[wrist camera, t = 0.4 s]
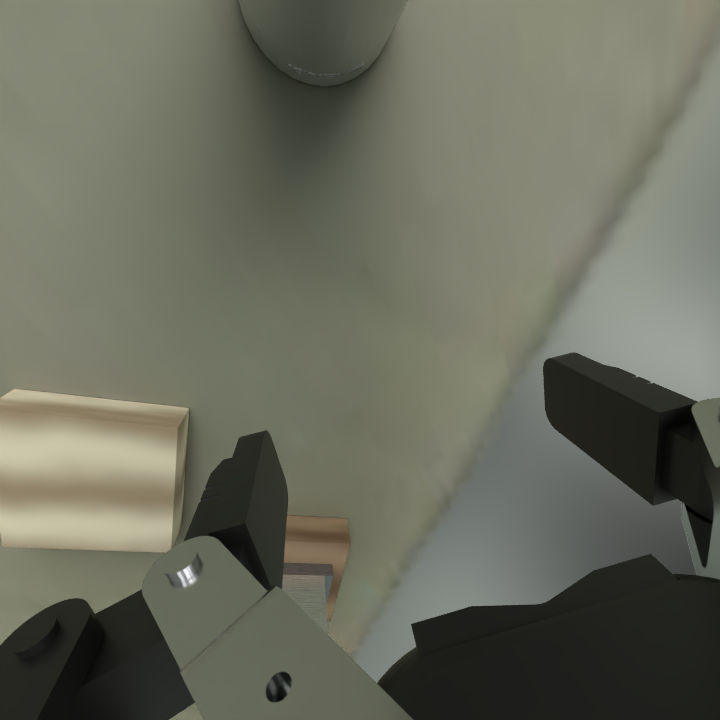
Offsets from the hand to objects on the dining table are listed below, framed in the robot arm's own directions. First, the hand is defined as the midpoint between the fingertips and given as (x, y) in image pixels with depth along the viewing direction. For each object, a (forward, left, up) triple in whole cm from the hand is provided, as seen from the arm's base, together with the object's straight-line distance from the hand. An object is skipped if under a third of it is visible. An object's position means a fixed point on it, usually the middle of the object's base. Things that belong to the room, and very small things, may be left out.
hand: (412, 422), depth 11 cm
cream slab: (+13, -20, -19) cm, 31 cm away
